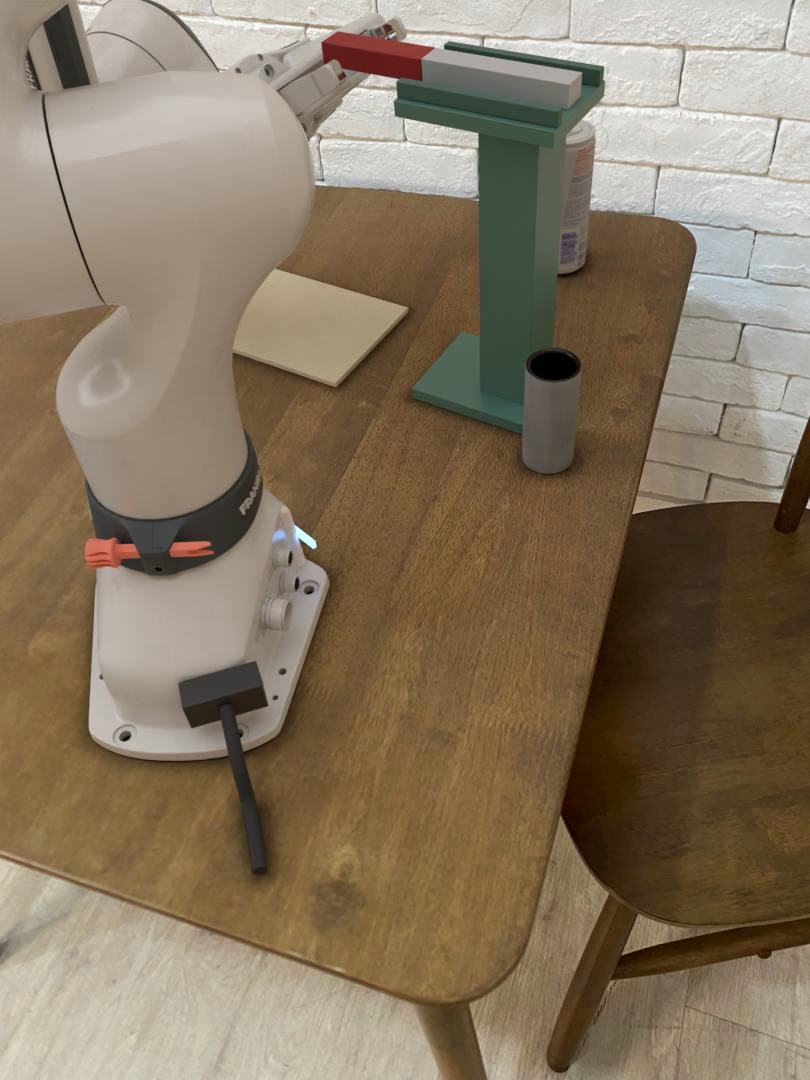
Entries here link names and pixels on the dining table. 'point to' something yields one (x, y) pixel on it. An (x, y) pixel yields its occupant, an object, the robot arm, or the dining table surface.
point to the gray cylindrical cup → (550, 409)
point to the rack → (504, 232)
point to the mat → (313, 327)
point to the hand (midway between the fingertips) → (369, 49)
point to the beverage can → (576, 196)
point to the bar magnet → (453, 69)
